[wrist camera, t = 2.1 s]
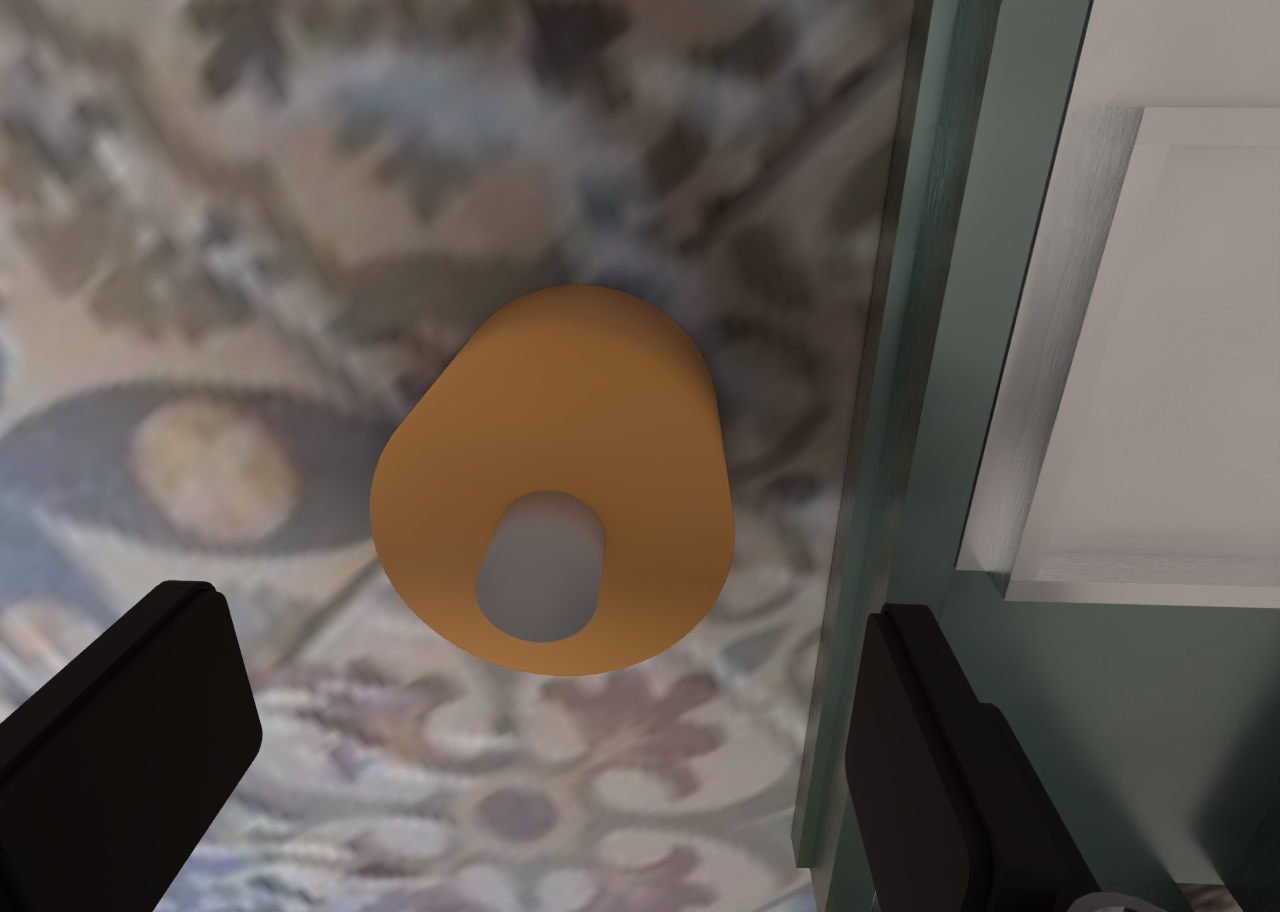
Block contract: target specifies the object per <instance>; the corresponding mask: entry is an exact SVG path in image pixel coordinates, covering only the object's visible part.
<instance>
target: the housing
mask: <svg viewBox="0 0 1280 912" xmlns="http://www.w3.org/2000/svg"><path fill="white" fill-rule="evenodd" d="M370 522H371V530H372V536H373V540H374V543H375V547H376V551H377V554H378V556H379V559H380V561H381V564H382V566H383V568H384V571H385V573H386V574H387V576H388V578H389V579H390V581H391V583H392V585H393V586H394V588H395V590H396V591H397V592H398V594H399V595H400V596H401V597H402V599H403V600H404V601H405V603H406V604H407V605H408V607H409V608H410V609H411V610H412V611H413V612H414V613H415V614H416V615H417V616H418V617H419V618H420V619H421V620H422V621H423V622H424V623H426V624H427V625H428V626H429V627H430V628H432V629H433V630H434V631H435V632H437V633H438V634H439V635H440V636H442V637H443V638H445V639H447V640H448V641H450V642H451V643H453V644H454V645H456V646H457V647H459V648H461V649H463V650H465V651H467V652H469V653H471V654H473V655H475V656H477V657H479V658H482V659H484V660H487V661H489V662H492V663H494V664H497V665H501V666H504V667H508V668H511V669H515V670H519V671H524V672H530V673H535V674H543V675H555V676H581V675H590V674H598V673H604V672H609V671H613V670H617V669H622V668H625V667H628V666H631V665H634V664H637V663H639V662H642V661H644V660H646V659H648V658H651V657H653V656H655V655H657V654H659V653H661V652H662V651H664V650H665V649H667V648H669V647H670V646H672V645H673V644H675V643H677V642H678V641H679V640H680V639H681V638H683V637H684V636H685V635H686V634H687V633H689V632H690V631H691V630H692V629H693V628H694V627H695V626H696V625H697V624H698V623H699V622H700V621H701V620H702V618H703V617H704V616H705V615H706V614H707V612H708V611H709V609H710V608H711V607H712V605H713V604H714V602H715V601H716V599H717V597H718V595H719V593H720V591H721V589H722V587H723V585H724V583H725V581H726V578H727V575H728V572H729V569H730V565H731V562H732V555H733V549H734V517H733V510H732V503H731V496H730V489H729V482H728V475H727V468H726V461H725V454H724V447H723V440H722V433H721V426H720V419H719V412H718V405H717V398H716V392H715V386H714V383H713V380H712V377H711V373H710V370H709V368H708V366H707V364H706V362H705V360H704V358H703V355H702V354H701V352H700V351H699V349H698V348H697V346H696V345H695V343H694V342H693V340H692V339H691V338H690V337H689V336H688V334H687V333H686V332H685V331H684V330H683V329H682V327H681V326H679V325H678V324H677V323H676V322H675V321H674V320H673V319H672V318H670V317H669V316H668V315H667V314H666V313H664V312H663V311H661V310H660V309H658V308H657V307H655V306H654V305H652V304H650V303H648V302H646V301H644V300H642V299H640V298H639V297H637V296H634V295H631V294H629V293H626V292H623V291H620V290H617V289H612V288H608V287H603V286H597V285H585V284H573V285H559V286H554V287H548V288H543V289H540V290H537V291H534V292H531V293H528V294H525V295H523V296H521V297H519V298H517V299H515V300H513V301H511V302H509V303H508V304H506V305H505V306H503V307H502V308H500V309H499V310H497V311H496V312H495V313H494V314H492V315H491V316H490V317H489V318H488V319H487V320H486V321H485V322H484V323H483V324H482V325H481V326H480V327H479V329H478V330H477V331H476V332H475V333H474V335H473V336H472V337H471V338H470V340H469V341H468V342H467V343H466V345H465V346H464V347H463V348H462V349H461V351H460V352H459V353H458V354H457V356H456V357H455V358H454V359H453V361H452V362H451V363H450V364H449V365H448V367H447V368H446V369H445V370H444V372H443V373H442V374H441V375H440V377H439V378H438V379H437V380H436V381H435V383H434V384H433V385H432V386H431V388H430V389H429V390H428V391H427V393H426V394H425V395H424V396H423V397H422V399H421V400H420V401H419V402H418V404H417V405H416V406H415V407H414V409H413V410H412V411H411V412H410V413H409V415H408V416H407V417H406V418H405V420H404V421H403V422H402V423H401V425H400V426H399V427H398V428H397V430H396V431H395V432H394V433H393V435H392V436H391V438H390V440H389V441H388V443H387V445H386V447H385V448H384V450H383V452H382V454H381V456H380V459H379V462H378V464H377V467H376V470H375V472H374V477H373V482H372V487H371V492H370Z"/></svg>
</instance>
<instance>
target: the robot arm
mask: <svg viewBox="0 0 1280 912" xmlns="http://www.w3.org/2000/svg"><path fill="white" fill-rule="evenodd" d="M262 734H263V732H262V726H261V723H260V719H259V716H258V712H257V708H256V705H255V701H254V698H253V694H252V690H251V687H250V683H249V680H248V676H247V672H246V669H245V665H244V662H243V658H242V654H241V651H240V647H239V644H238V640H237V636H236V633H235V629H234V626H233V622H232V618H231V615H230V611H229V608H228V604H227V601H226V598H225V596H224V595H223V594H222V593H220V592H216V589H215V587H214V586H213V585H212V584H211V583H209V582H205V581H177V580H169V581H163V582H162V583H160V584H159V585H157V586H156V587H155V588H154V589H153V590H152V591H150V592H149V593H148V594H147V595H146V596H145V597H144V598H142V599H141V600H140V601H139V602H138V603H137V604H136V605H135V606H133V607H132V608H131V609H130V610H129V611H128V612H127V613H125V614H124V615H123V616H122V617H121V618H120V619H119V620H118V621H116V622H115V623H114V624H113V625H112V626H111V627H110V628H108V629H107V630H106V631H105V632H104V633H103V634H102V635H101V636H99V637H98V638H97V639H96V640H95V641H94V642H93V643H91V644H90V645H89V646H88V647H87V648H86V649H85V650H83V651H82V652H81V653H80V654H79V655H78V656H77V657H76V658H74V659H73V660H72V661H71V662H70V663H69V664H68V665H66V666H65V667H64V668H63V669H62V670H61V671H60V672H59V673H57V674H56V675H55V676H54V677H53V678H52V679H51V680H49V681H48V682H47V683H46V684H45V685H44V686H43V687H42V688H40V689H39V690H38V691H37V692H36V693H35V694H34V695H32V696H31V697H30V698H29V699H28V700H27V701H26V702H24V703H23V704H22V705H21V706H20V707H19V708H18V709H17V710H15V711H14V712H13V713H12V714H11V715H10V716H9V717H7V718H6V719H5V720H4V721H3V722H2V723H1V724H0V912H153V910H154V909H155V907H156V906H157V904H158V903H159V901H160V900H161V898H162V897H163V895H164V894H165V892H166V891H167V889H168V888H169V886H170V885H171V883H172V882H173V880H174V879H175V877H176V876H177V874H178V873H179V871H180V870H181V868H182V867H183V865H184V864H185V862H186V861H187V859H188V858H189V856H190V855H191V853H192V852H193V850H194V849H195V847H196V846H197V844H198V843H199V841H200V840H201V838H202V837H203V835H204V834H205V832H206V831H207V829H208V828H209V826H210V825H211V823H212V822H213V820H214V819H215V817H216V816H217V814H218V813H219V811H220V810H221V808H222V807H223V805H224V804H225V802H226V801H227V799H228V798H229V796H230V795H231V793H232V792H233V790H234V789H235V787H236V786H237V784H238V783H239V781H240V780H241V778H242V777H243V775H244V774H245V772H246V771H247V769H248V768H249V766H250V765H251V763H252V762H253V761H254V759H255V758H256V756H257V754H258V752H259V749H260V747H261V743H262ZM845 771H846V778H847V783H848V787H849V790H850V794H851V798H852V802H853V806H854V810H855V813H856V817H857V821H858V825H859V829H860V833H861V837H862V840H863V844H864V848H865V852H866V856H867V860H868V863H869V867H870V871H871V875H872V879H873V883H874V886H875V890H876V894H877V898H878V902H879V906H880V909H881V912H1167V911H1165V910H1164V909H1161V908H1159V907H1157V906H1155V905H1153V904H1151V903H1148V902H1146V901H1144V900H1142V899H1140V898H1137V897H1133V896H1128V895H1124V894H1120V893H1116V892H1102V891H1101V889H1100V887H1099V885H1098V883H1097V882H1096V880H1095V878H1094V876H1093V874H1092V873H1091V871H1090V869H1089V867H1088V866H1087V864H1086V862H1085V860H1084V858H1083V857H1082V855H1081V853H1080V851H1079V849H1078V848H1077V846H1076V844H1075V842H1074V840H1073V839H1072V837H1071V835H1070V833H1069V831H1068V830H1067V828H1066V826H1065V824H1064V822H1063V821H1062V819H1061V817H1060V815H1059V813H1058V812H1057V810H1056V808H1055V806H1054V804H1053V803H1052V801H1051V799H1050V797H1049V795H1048V794H1047V792H1046V790H1045V788H1044V786H1043V785H1042V783H1041V781H1040V779H1039V777H1038V776H1037V774H1036V772H1035V770H1034V768H1033V767H1032V765H1031V763H1030V761H1029V759H1028V758H1027V756H1026V754H1025V752H1024V751H1023V749H1022V747H1021V745H1020V743H1019V742H1018V740H1017V738H1016V736H1015V734H1014V733H1013V731H1012V729H1011V727H1010V725H1009V724H1008V722H1007V720H1006V718H1005V716H1004V715H1003V714H1002V712H1001V711H1000V710H999V708H998V707H997V706H995V705H994V704H992V703H979V701H978V699H977V697H976V695H975V693H974V691H973V689H972V687H971V685H970V684H969V682H968V680H967V678H966V676H965V674H964V672H963V670H962V668H961V666H960V665H959V663H958V661H957V659H956V657H955V655H954V653H953V651H952V649H951V647H950V646H949V644H948V642H947V640H946V638H945V636H944V634H943V632H942V630H941V628H940V627H939V625H938V623H937V621H936V619H935V617H934V615H933V613H932V611H931V610H930V608H929V607H928V606H927V605H925V604H897V603H886V604H884V605H883V607H882V609H881V612H880V613H871V614H869V616H868V619H867V624H866V630H865V636H864V642H863V648H862V654H861V660H860V666H859V672H858V678H857V684H856V690H855V696H854V702H853V709H852V715H851V721H850V727H849V733H848V739H847V745H846V751H845Z"/></svg>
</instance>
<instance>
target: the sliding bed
mask: <svg viewBox="0 0 1280 912" xmlns="http://www.w3.org/2000/svg"><path fill="white" fill-rule="evenodd" d="M953 567H954V568H955V570H972V571H985V572H986V574H987V575H988V577H989V578H990V580H991V582H992V583H993V585H994V586H995V588H996V589H997V591H998V592H999V594H1000V595H1001V597H1002V598H1003V600H1004V601H1034V602H1070V603H1106V604H1142V605H1178V606H1215V607H1251V608H1280V0H1090V1H1089V5H1088V9H1087V13H1086V17H1085V21H1084V25H1083V30H1082V34H1081V38H1080V42H1079V46H1078V50H1077V55H1076V59H1075V63H1074V67H1073V71H1072V75H1071V79H1070V84H1069V88H1068V92H1067V96H1066V100H1065V104H1064V109H1063V113H1062V117H1061V121H1060V125H1059V129H1058V133H1057V138H1056V142H1055V146H1054V150H1053V154H1052V158H1051V163H1050V167H1049V171H1048V175H1047V179H1046V183H1045V187H1044V192H1043V196H1042V200H1041V204H1040V208H1039V212H1038V217H1037V221H1036V225H1035V229H1034V233H1033V237H1032V241H1031V246H1030V250H1029V254H1028V258H1027V262H1026V266H1025V271H1024V275H1023V279H1022V283H1021V287H1020V291H1019V295H1018V300H1017V304H1016V308H1015V312H1014V316H1013V320H1012V325H1011V329H1010V333H1009V337H1008V341H1007V345H1006V349H1005V354H1004V358H1003V362H1002V366H1001V370H1000V374H999V379H998V383H997V387H996V391H995V395H994V399H993V403H992V408H991V412H990V416H989V420H988V424H987V428H986V433H985V437H984V441H983V445H982V449H981V453H980V457H979V462H978V466H977V470H976V474H975V478H974V482H973V487H972V491H971V495H970V499H969V503H968V507H967V511H966V516H965V520H964V524H963V528H962V532H961V536H960V541H959V545H958V549H957V553H956V557H955V561H954V565H953Z"/></svg>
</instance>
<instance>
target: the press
mask: <svg viewBox="0 0 1280 912" xmlns="http://www.w3.org/2000/svg"><path fill="white" fill-rule="evenodd" d="M1089 1H1090V0H916V4H915V11H914V18H913V24H912V31H911V38H910V44H909V51H908V58H907V65H906V71H905V78H904V85H903V91H902V98H901V105H900V111H899V118H898V125H897V132H896V138H895V145H894V152H893V158H892V165H891V172H890V179H889V185H888V192H887V199H886V205H885V212H884V219H883V225H882V232H881V239H880V246H879V252H878V259H877V266H876V272H875V279H874V286H873V292H872V299H871V306H870V313H869V319H868V326H867V333H866V339H865V346H864V353H863V360H862V366H861V373H860V380H859V386H858V393H857V400H856V406H855V413H854V420H853V427H852V433H851V440H850V447H849V453H848V460H847V467H846V474H845V480H844V487H843V494H842V500H841V507H840V514H839V520H838V527H837V534H836V541H835V547H834V554H833V561H832V567H831V574H830V581H829V588H828V594H827V601H826V608H825V614H824V621H823V628H822V634H821V641H820V648H819V655H818V661H817V668H816V675H815V681H814V688H813V695H812V702H811V708H810V715H809V722H808V728H807V735H806V742H805V748H804V755H803V762H802V769H801V775H800V782H799V789H798V795H797V802H796V809H795V815H794V822H793V829H792V836H791V838H792V844H793V850H794V856H795V863H796V868H810V872H811V877H812V883H813V889H814V894H815V900H816V906H817V911H818V912H870V910H871V906H872V902H873V898H874V894H875V886H874V883H873V879H872V875H871V871H870V867H869V863H868V860H867V856H866V852H865V848H864V844H863V840H862V837H861V833H860V829H859V825H858V821H857V817H856V813H855V810H854V806H853V802H852V798H851V794H850V790H849V787H848V783H847V778H846V771H845V751H846V745H847V739H848V733H849V727H850V721H851V715H852V709H853V702H854V696H855V690H856V684H857V678H858V672H859V666H860V660H861V654H862V648H863V642H864V636H865V630H866V624H867V619H868V616H869V614H871V613H880V612H881V609H882V607H883V605H884V604H886V603H897V604H925V605H927V606H928V607H929V608H930V610H931V611H932V613H933V615H934V617H935V619H936V621H937V623H938V625H939V627H940V628H941V630H942V632H943V634H944V636H945V638H946V640H947V642H948V644H949V646H950V647H951V649H952V651H953V653H954V655H955V657H956V659H957V661H958V663H959V665H960V666H961V668H962V670H963V672H964V674H965V676H966V678H967V680H968V682H969V684H970V685H971V687H972V689H973V691H974V693H975V695H976V697H977V699H978V701H979V703H992V704H994V705H995V706H997V707H998V708H999V710H1000V711H1001V712H1002V714H1003V715H1004V716H1005V718H1006V720H1007V722H1008V724H1009V725H1010V727H1011V729H1012V731H1013V733H1014V734H1015V736H1016V738H1017V740H1018V742H1019V743H1020V745H1021V747H1022V749H1023V751H1024V752H1025V754H1026V756H1027V758H1028V759H1029V761H1030V763H1031V765H1032V767H1033V768H1034V770H1035V772H1036V774H1037V776H1038V777H1039V779H1040V781H1041V783H1042V785H1043V786H1044V788H1045V790H1046V792H1047V794H1048V795H1049V797H1050V799H1051V801H1052V803H1053V804H1054V806H1055V808H1056V810H1057V812H1058V813H1059V815H1060V817H1061V819H1062V821H1063V822H1064V824H1065V826H1066V828H1067V830H1068V831H1069V833H1070V835H1071V837H1072V839H1073V840H1074V842H1075V844H1076V846H1077V848H1078V849H1079V851H1080V853H1081V855H1082V857H1083V858H1084V860H1085V862H1086V864H1087V866H1088V867H1089V869H1090V871H1091V873H1092V874H1093V876H1094V878H1095V880H1096V882H1097V883H1098V885H1099V887H1100V889H1101V891H1102V892H1116V893H1120V894H1124V895H1128V896H1133V897H1137V898H1140V899H1142V900H1144V901H1146V902H1148V903H1151V904H1153V905H1155V906H1157V907H1159V908H1161V909H1164V910H1165V911H1167V912H1194V911H1193V909H1192V908H1191V906H1190V905H1189V903H1188V901H1187V900H1186V898H1185V897H1184V895H1183V894H1182V892H1181V890H1180V889H1179V887H1178V886H1177V884H1176V883H1193V884H1217V885H1225V886H1226V887H1227V889H1228V890H1229V891H1230V893H1231V894H1232V896H1233V897H1234V899H1235V900H1236V902H1237V903H1238V904H1239V906H1240V907H1241V909H1242V910H1243V912H1280V608H1251V607H1215V606H1178V605H1142V604H1106V603H1070V602H1034V601H1004V600H1003V598H1002V597H1001V595H1000V594H999V592H998V591H997V589H996V588H995V586H994V585H993V583H992V582H991V580H990V578H989V577H988V575H987V574H986V572H985V571H972V570H955V568H954V567H953V565H954V561H955V557H956V553H957V549H958V545H959V541H960V536H961V532H962V528H963V524H964V520H965V516H966V511H967V507H968V503H969V499H970V495H971V491H972V487H973V482H974V478H975V474H976V470H977V466H978V462H979V457H980V453H981V449H982V445H983V441H984V437H985V433H986V428H987V424H988V420H989V416H990V412H991V408H992V403H993V399H994V395H995V391H996V387H997V383H998V379H999V374H1000V370H1001V366H1002V362H1003V358H1004V354H1005V349H1006V345H1007V341H1008V337H1009V333H1010V329H1011V325H1012V320H1013V316H1014V312H1015V308H1016V304H1017V300H1018V295H1019V291H1020V287H1021V283H1022V279H1023V275H1024V271H1025V266H1026V262H1027V258H1028V254H1029V250H1030V246H1031V241H1032V237H1033V233H1034V229H1035V225H1036V221H1037V217H1038V212H1039V208H1040V204H1041V200H1042V196H1043V192H1044V187H1045V183H1046V179H1047V175H1048V171H1049V167H1050V163H1051V158H1052V154H1053V150H1054V146H1055V142H1056V138H1057V133H1058V129H1059V125H1060V121H1061V117H1062V113H1063V109H1064V104H1065V100H1066V96H1067V92H1068V88H1069V84H1070V79H1071V75H1072V71H1073V67H1074V63H1075V59H1076V55H1077V50H1078V46H1079V42H1080V38H1081V34H1082V30H1083V25H1084V21H1085V17H1086V13H1087V9H1088V5H1089ZM872 912H881V909H880V906H879V902H878V898H877V894H876V898H875V902H874V906H873V910H872Z"/></svg>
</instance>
